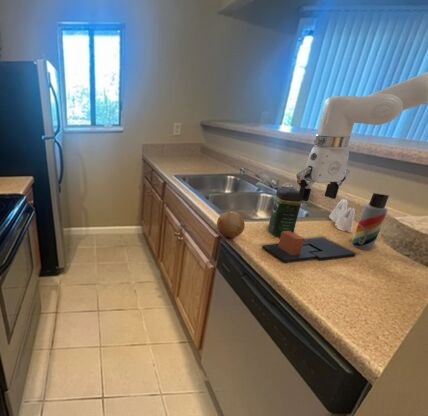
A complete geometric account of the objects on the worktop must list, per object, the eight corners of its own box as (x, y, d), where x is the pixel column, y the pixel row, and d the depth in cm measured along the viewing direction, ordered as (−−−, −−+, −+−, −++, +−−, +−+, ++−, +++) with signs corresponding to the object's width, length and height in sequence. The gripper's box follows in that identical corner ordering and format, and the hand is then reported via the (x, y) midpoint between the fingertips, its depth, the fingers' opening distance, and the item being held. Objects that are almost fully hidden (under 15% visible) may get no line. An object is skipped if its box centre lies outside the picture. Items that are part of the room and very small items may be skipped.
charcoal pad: (321, 240, 103) (322, 237, 102) (354, 256, 92) (355, 253, 91) (289, 243, 100) (290, 240, 100) (319, 260, 89) (320, 257, 89)
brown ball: (230, 244, 100) (234, 219, 97) (209, 233, 109) (212, 210, 105) (248, 238, 104) (253, 214, 101) (227, 228, 113) (231, 206, 109)
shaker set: (326, 220, 120) (334, 196, 116) (338, 221, 119) (346, 196, 115) (339, 231, 109) (348, 205, 105) (352, 232, 108) (361, 206, 104)
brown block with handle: (300, 243, 100) (305, 226, 97) (325, 258, 91) (332, 238, 88) (261, 248, 97) (265, 230, 95) (283, 263, 88) (289, 243, 86)
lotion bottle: (349, 246, 98) (368, 193, 91) (352, 241, 101) (370, 189, 94) (371, 252, 94) (392, 197, 87) (373, 246, 97) (394, 193, 90)
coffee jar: (295, 240, 103) (307, 193, 96) (271, 237, 105) (282, 191, 98) (287, 229, 111) (298, 185, 105) (265, 227, 114) (275, 184, 107)
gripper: (317, 145, 74) (302, 205, 80) (370, 142, 76) (352, 200, 82) (294, 142, 81) (282, 197, 87) (343, 139, 83) (328, 193, 89)
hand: (316, 198), depth 84 cm, fingers open, 9 cm apart
